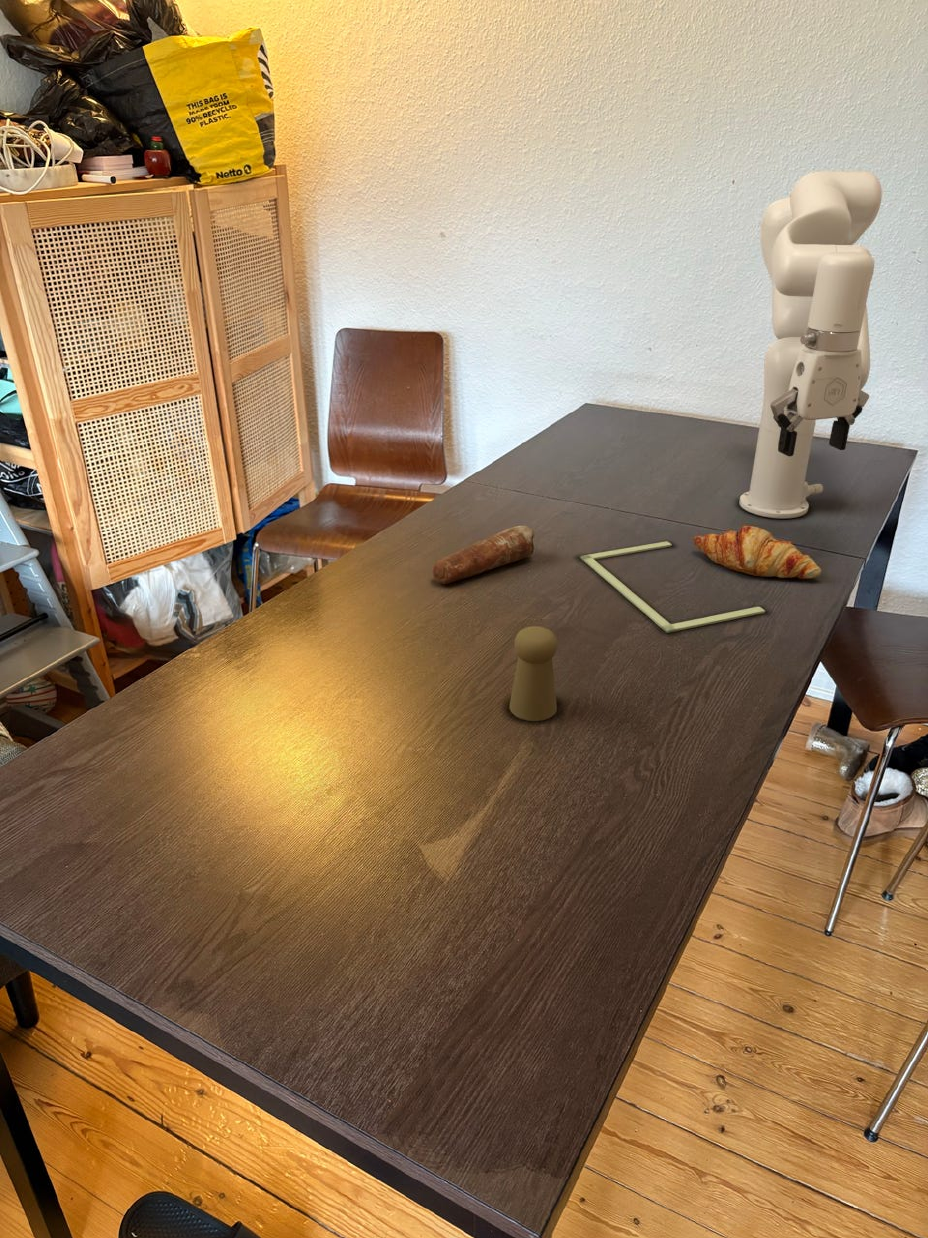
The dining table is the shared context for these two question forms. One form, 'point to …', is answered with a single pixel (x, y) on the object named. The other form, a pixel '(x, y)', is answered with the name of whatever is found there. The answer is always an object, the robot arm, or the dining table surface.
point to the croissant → (757, 554)
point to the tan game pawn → (534, 675)
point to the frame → (647, 609)
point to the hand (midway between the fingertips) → (811, 450)
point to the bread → (486, 555)
